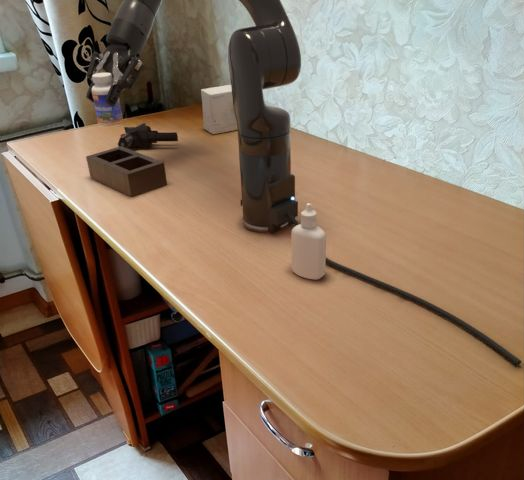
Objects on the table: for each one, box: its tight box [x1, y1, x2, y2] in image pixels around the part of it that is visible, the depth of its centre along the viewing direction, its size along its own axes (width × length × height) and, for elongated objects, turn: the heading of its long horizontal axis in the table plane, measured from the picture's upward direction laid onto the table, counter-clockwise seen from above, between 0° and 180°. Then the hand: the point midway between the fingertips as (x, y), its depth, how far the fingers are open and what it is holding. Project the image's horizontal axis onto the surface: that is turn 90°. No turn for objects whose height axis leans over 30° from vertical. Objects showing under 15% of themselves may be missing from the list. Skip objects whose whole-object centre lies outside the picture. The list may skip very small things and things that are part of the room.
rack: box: [85, 146, 168, 198], centre depth 129 cm, size 17×9×5 cm, turn 44°
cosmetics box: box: [200, 84, 238, 135], centre depth 156 cm, size 10×6×10 cm, turn 119°
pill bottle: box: [91, 72, 124, 127], centre depth 122 cm, size 5×5×10 cm
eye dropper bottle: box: [290, 202, 327, 281], centre depth 91 cm, size 4×6×12 cm
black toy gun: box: [117, 122, 179, 149], centre depth 148 cm, size 5×20×15 cm
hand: (99, 102), depth 121 cm, fingers closed on pill bottle, 5 cm apart
